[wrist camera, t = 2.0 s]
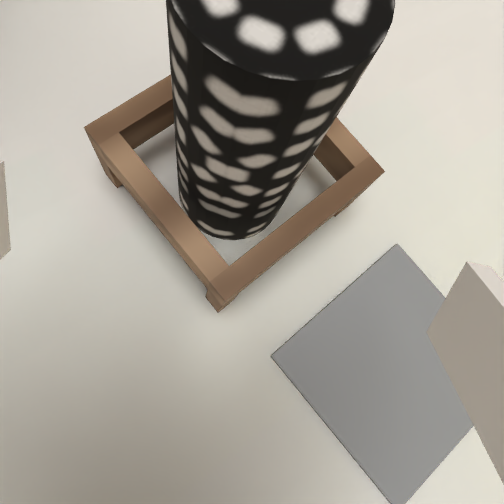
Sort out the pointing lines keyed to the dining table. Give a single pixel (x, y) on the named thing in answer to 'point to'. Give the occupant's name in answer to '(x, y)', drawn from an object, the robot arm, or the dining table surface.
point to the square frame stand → (180, 225)
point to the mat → (381, 375)
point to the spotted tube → (260, 97)
